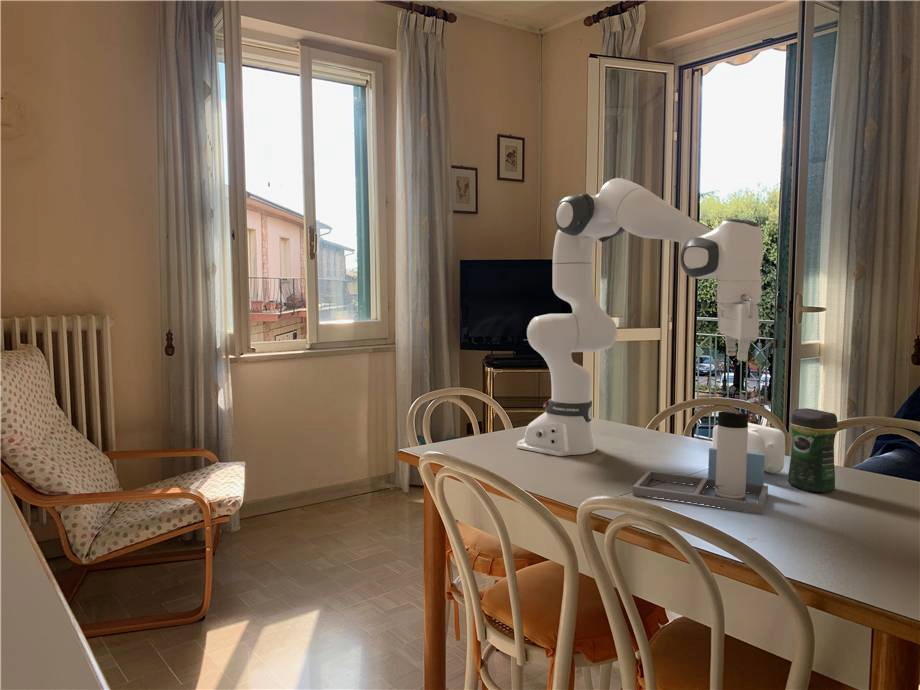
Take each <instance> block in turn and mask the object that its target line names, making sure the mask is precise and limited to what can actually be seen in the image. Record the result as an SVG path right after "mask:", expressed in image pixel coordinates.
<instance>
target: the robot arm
mask: <svg viewBox="0 0 920 690" xmlns="http://www.w3.org/2000/svg"><path fill="white" fill-rule="evenodd" d="M554 221H555V225H556V227H557V231H556V234H555V238H554V243H553V244H554V245H553V249H552V250H553V251H552V290H553V292H554V293H553V294H555V296H557V297H558V298H559V299H561V300H562V301H564V302H567V303H568V304H569V305H570V306H571V311H572V312H571V313H547V314H542V315H538V316H534V317H533V318H532V319H531V320H530V322H529V324H528V325H527V328H526V337H527V341H528V344H529V345H530V347H531V348H532V349H533V350H534V351H536V352H537V353H538V354H540V355H541V357H542V358H543V359H544V361H545V362H546V364H547V367H548V369H549V373H550V380H551V398H549V399H548V400H547V401H545V402H544V403H543V408H544V409H545V412H543V413H542V414H540V415H539V416H537V417H536V418H535V419H534V420H532V421H531V422H529V423H528V425H527V426H526V429H525V432H524V433H525V434H524V438H522V439H520V440H518V441H517V442H516V448H517V449H520V450H525V451H532V452H536V453H541V454H547V455H553V456H557V457H564V456H565V457H566V456H571V455H574V456H575V455H586V454H590V453H593V452H595V451H596V445H595V442H594V436H593V430H592V420H593V401H592V400H591V398H592V396H591V395H592V392H591V391H592V376H591V373H590V372H589V371H588V369H587V368H586V367H583V366H582V365H580V364H578V363H576V362H574V361H573V357H572V353H592V352H593V353H594V352H599V351H600V352H601V351H604V350H608V349H610V348H612V347H613V345H614V344H615V343H616V340H617V337H618V327H617V325H616V322H615V321H614V319H613V318H612V317H611V316H610V315H609V314H607V313H606V312H605V311H604V310H603V309H602V307H601V306H600V304H599V302H598V301H597V299H596V296H595V292H594V291H595V290H594V283H593V282H594V280H593V247H594V245H595V243H596V242H598V241H599V242H601V243H605V242H606V241H607V242H608V240H611V239H613V238H616V237H617V236H620V235H622V234H623V233H625V231H626V232H628V233H629V234H631V235H635V236H637V237H640V238H643V239H644V238H645V239H653V240H654V239H656V240H664V241H672V242H677V243H681V244H682V245H683V247H682V249H681V252H680V258H679V259H680V266H681V269H682V270H683V273H685V274H686V276H688V277H690V278H694V279H700V280H717V288H716V289H717V290H716V291H715V296H714V301H715V302H717V313H716V314H717V327H718V332H719V334H722V335H724V342H725V347H726V353H725V354H726V356H730V357H735V356H736V359H737V361H740V362H743V361H744V362H746V361H748V356H749V355H748V353H749V349H750V348H751V341H757V340H758V338H759V335H760V332H759V330H760V329H759V327H760V323H759V322H760V320H759V319H760V317H759V306H758V305H757V304H758V303H761V302H762V301H761V300H762V299H761V298H762V274H761V266H762V263H763V257H764V250H763V249H764V247H763V246H764V241H763V231H762V228H761V225H760V224H759V223H758V222H755V221H753V220H749V219H740V218H739V219H738V218H727V219H725V220H723V221H722V222H721V223H720V224H719V225H718V226H717V227H716V228H714V229H713V228H711V227H710V226H708V225H706V224H704V223H702V222H700V221H699V220H697V219H695V218H693V217H691V216H689V215H687V214H686V213H684V212H682V211H681V210H680V209H678V208H676V207H675V206H672V205H671V204H670V203H668V202H667V201H665V200H664V199H662V197H659V196H657V194H655V193H653V192H652V191H650V190H649V189H647V188H646V187H643V186H642V185H640V184H638V183H636V182H633V181H631V180H628V179H625V178H621V177H615V178H611V179H610V180H608V181H606V182H605V183H604V184H603V185H602V186H601V188H600V190H599V193H597V194H596V195H590V194H589V193H581V194H573V195H568V196H565V197H564V198H562V199H561V200H560V201H559V203H557V206H556V208H555V214H554ZM736 341H737V344H738V347H736ZM737 348H738V349H737Z"/></svg>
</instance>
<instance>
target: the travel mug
mask: <svg viewBox="0 0 920 690" xmlns="http://www.w3.org/2000/svg"><path fill="white" fill-rule="evenodd" d="M717 415H718V416H717V425H718V430H717V458H716V485H715V488H714V489H715V491H714V497H719V498H726V499H733V500H740V501H745V500H746V493H745V491H746V466H747V442H748V423H749V414H748V413H742V412H739V413H736V412H731V411H730V412H729V411H718V413H717Z"/></svg>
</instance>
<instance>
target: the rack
mask: <svg viewBox="0 0 920 690" xmlns="http://www.w3.org/2000/svg"><path fill="white" fill-rule="evenodd" d="M716 458H717V449H715V448H712V447H710V448H709V449H708V469H707V471H708V474H707V477H704V476H703V477H702V476H695V475H689V474H688V475H686V474H679V473H671V472H664V471H657V470H649V469H648V470H647V471H646V472H645V473H644V474H643V475H642V476H641V477H640V478H639V479H638V480H637V482H635V484H634V485H633V486H632V496H635V495H639V496H638V497H642V496H650V497H657V498H664V499H670V500H678V501H684V502H691V503H697V504H704V505H709V506H715V507H714V508H716V507H720V508H719V509H722V508H725V509H724V510H729V509H732V510H731V511H736V510H738V511H737V512H742V511H745V512H744V513H749V512H750V514H757V515H762V514H763V512H764V508H765V504H766V501H767V499H766V498H768V493H769V485H765V472H764V468H765V454H760V453H751V452H747V466H746V491H745V492H749V493H748V494H751V493H756V494H755V495H758V494H760V495H759V496H758V497H759V498H758V500H757V502H754V501H748V500H747V501H740V500H733V499H726V498H719V497H715V496H712V495H704V493H705V492H706V490H707V488H706V487H707V486H708V487H715V485H716ZM651 479H654V480H653V481H656V480H662V481H661V482H664V481H669V482H668V483H671V482H676V483H675V484H678V483H685V484H693V485H698V486H696V488H695V490H694V491H693V493H690V492H683V491H676V490H670V489H669V490H668V489H661V488H657V487H655V488H654V487H647V485H648V484H649V483H650V482H651V481H652V480H651ZM650 480H651V481H650ZM649 481H650V482H649ZM648 482H649V483H648ZM647 483H648V484H647ZM646 484H647V485H646ZM685 484H684V485H685ZM693 485H692V486H693ZM705 489H706V490H705ZM704 491H705V492H704ZM703 492H704V493H703ZM702 494H703V495H702ZM709 506H708V507H709Z"/></svg>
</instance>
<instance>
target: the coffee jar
mask: <svg viewBox="0 0 920 690" xmlns="http://www.w3.org/2000/svg"><path fill="white" fill-rule="evenodd" d="M789 425H790V430H791V436H792V437H791V438H792V441H791V442H792V443H791V449H790V450H791V452H790V460H789V466H788V467H789V468H788V477H787V483H788V484H789V486H793V487H795V488H797V487H798V489H801V490H804V491H807V492H814V493H818V492H819V493H830V492H831V491H833V490H835V488H836V471H835V438H836V435H837V433H838V431H839V430H838V429H839V426H838V417H837V415H836V414H835V413H833V412H828V411H823V410H820V409H813V408H807V407H806V408H795V409H794V410H793V411H792V414H791V419H790V424H789Z"/></svg>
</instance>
